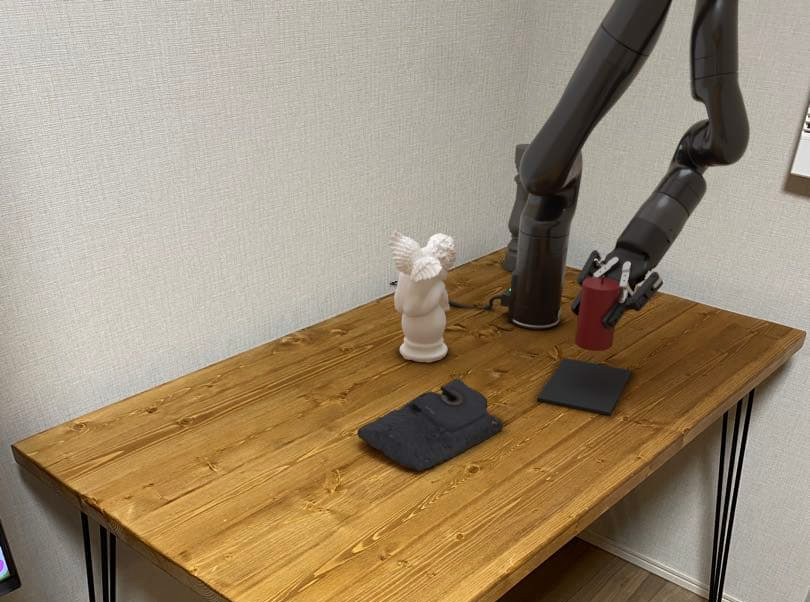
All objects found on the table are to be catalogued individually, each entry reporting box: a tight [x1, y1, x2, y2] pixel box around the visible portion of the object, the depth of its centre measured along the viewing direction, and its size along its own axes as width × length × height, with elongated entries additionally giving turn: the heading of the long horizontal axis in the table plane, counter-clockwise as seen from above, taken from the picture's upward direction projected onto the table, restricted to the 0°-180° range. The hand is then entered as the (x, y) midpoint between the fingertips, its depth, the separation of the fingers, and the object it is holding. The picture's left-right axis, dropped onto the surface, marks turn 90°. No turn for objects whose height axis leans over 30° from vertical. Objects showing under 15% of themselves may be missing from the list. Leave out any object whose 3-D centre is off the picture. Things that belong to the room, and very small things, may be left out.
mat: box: [536, 357, 633, 416], centre depth 148 cm, size 12×17×1 cm
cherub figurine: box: [388, 230, 458, 363], centre depth 150 cm, size 12×12×22 cm
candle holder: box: [504, 143, 530, 273], centre depth 188 cm, size 6×6×25 cm
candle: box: [574, 276, 621, 352], centre depth 141 cm, size 6×6×11 cm
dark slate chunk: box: [357, 378, 504, 472], centre depth 133 cm, size 15×22×5 cm
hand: (590, 319), depth 140 cm, fingers closed on candle, 6 cm apart
